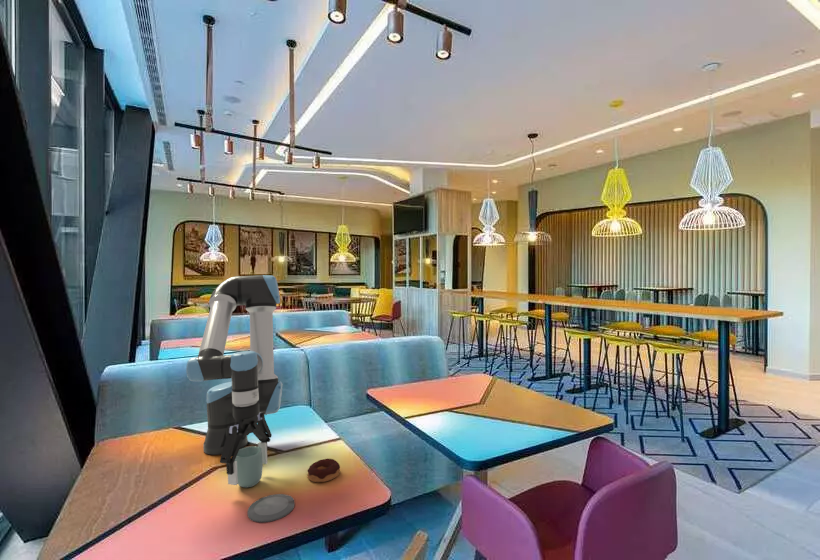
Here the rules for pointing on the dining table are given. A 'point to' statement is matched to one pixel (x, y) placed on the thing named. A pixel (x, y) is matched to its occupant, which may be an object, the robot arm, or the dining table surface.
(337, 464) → the donut
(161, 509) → the dining table surface
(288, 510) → the disc
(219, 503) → the dining table surface
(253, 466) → the cup
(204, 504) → the dining table surface
